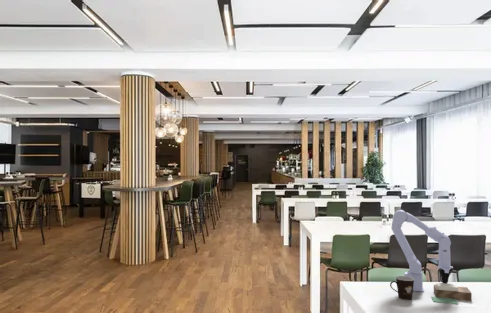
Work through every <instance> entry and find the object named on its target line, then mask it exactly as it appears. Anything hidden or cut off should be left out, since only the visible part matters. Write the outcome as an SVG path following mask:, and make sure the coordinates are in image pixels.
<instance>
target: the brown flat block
mask: <svg viewBox="0 0 491 313" xmlns="http://www.w3.org/2000/svg"><path fill="white" fill-rule="evenodd" d="M457 287H458V291H448V290H438V288H437V284H436V283H435V284H433V293H434V295H435V297H441V298H451V299H455V300H456V301H457V300H458V301H467V302H472V301H473V300H472V299H473V298H472V292H471V290H470V289H469V288H468V287H467V286H465V287H464V286H457Z"/></svg>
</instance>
